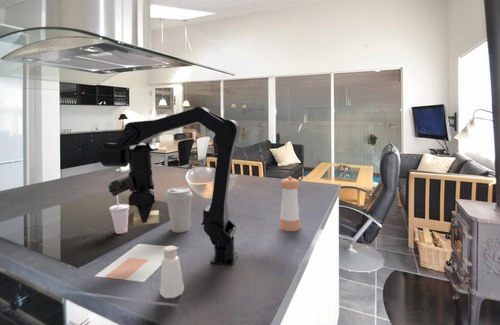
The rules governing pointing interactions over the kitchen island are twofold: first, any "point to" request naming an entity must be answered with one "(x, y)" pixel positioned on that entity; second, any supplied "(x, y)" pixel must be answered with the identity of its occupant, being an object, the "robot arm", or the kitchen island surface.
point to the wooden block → (136, 220)
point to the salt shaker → (290, 205)
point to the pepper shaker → (171, 274)
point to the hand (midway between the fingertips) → (144, 220)
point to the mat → (136, 263)
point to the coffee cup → (179, 208)
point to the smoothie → (120, 217)
